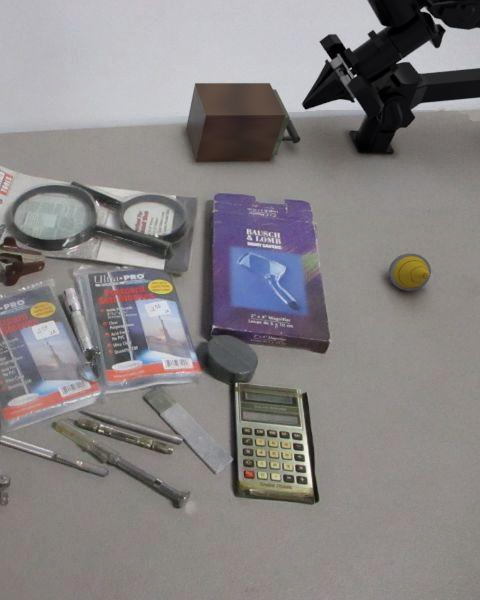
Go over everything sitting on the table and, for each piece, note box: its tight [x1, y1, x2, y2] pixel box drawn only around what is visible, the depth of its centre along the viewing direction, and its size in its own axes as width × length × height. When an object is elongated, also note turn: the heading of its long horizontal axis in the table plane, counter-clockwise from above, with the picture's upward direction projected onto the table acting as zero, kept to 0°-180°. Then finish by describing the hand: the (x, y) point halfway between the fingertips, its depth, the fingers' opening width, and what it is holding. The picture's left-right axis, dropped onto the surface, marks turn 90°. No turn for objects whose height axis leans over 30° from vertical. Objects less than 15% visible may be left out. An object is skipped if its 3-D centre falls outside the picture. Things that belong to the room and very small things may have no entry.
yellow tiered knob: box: [388, 253, 432, 292], centre depth 84 cm, size 5×5×10 cm
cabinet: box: [185, 82, 285, 163], centre depth 104 cm, size 13×10×9 cm
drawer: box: [272, 88, 301, 156], centre depth 105 cm, size 16×9×8 cm, turn 93°
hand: (303, 107), depth 103 cm, fingers closed
